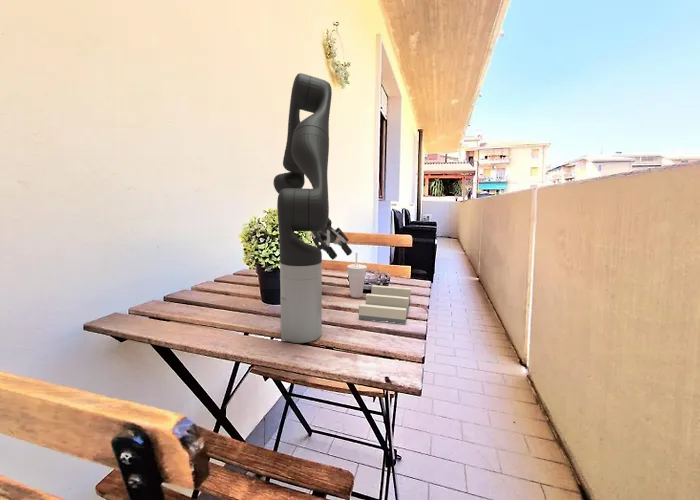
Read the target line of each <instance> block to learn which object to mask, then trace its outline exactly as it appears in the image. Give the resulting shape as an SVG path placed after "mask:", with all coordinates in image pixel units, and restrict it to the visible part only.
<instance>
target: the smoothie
mask: <svg viewBox="0 0 700 500" xmlns="http://www.w3.org/2000/svg"><path fill="white" fill-rule="evenodd" d="M346 270H347V274H348V275H347V276H348V285H349V292H350V295H349V296H350V297H352V298H357V299H358V298H362V297H363V293H364V292H363V291H364V286H365V279H366V272H367V271H368V267H367V265H364V264H360V263H359V264H358V252H355V263H352V264H348V265H347V266H346Z"/></svg>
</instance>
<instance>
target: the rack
mask: <svg viewBox="0 0 700 500" xmlns="http://www.w3.org/2000/svg"><path fill="white" fill-rule="evenodd" d="M411 289H412V288H410V287H403V286H402V287H400V286H399V287H398V286H388V285H376V284H372V285H371V289H370V290H371V293H365V303H360V304H359V305H358V320H360V319H366V320H365V321H369V320H375V321H374V322H379V321H388V322H395V323H394V324H397V323H405V322H407V318H408V317H407V316H408V313H409V307H410V302H411ZM388 322H387V323H388ZM405 324H406V323H405Z"/></svg>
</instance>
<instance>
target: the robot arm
mask: <svg viewBox="0 0 700 500" xmlns="http://www.w3.org/2000/svg"><path fill="white" fill-rule="evenodd" d="M332 90H333V89H332V86H331V84H330V82H328V81H327V80H325V79H322V78H319V77H316V76H313V75H309V74H306V73H302V72H301V73H297V74H296V76H295V77H294V79H293V83H292V87H291V94H290V101H289V111H288V119H287V120H288V121H287V122H288V123H287V124H288V125H287V137H286V145H285V149H284V154H283V158H282V166H283V168H284V169H285V171H286V172H284V173H279V174H277V175H275V176H274V179H273V188H274V189H275V191H276V192H277V194H278V196H277V202H276V203H277V204H276V210H277V222H278V223H277V224H278V237H279V238H278V241H279V242H278V244H279V271H280V272H279V280H280V282H279V283H280V287H279V288H280V290H279V291H280V298H279V299H280V341H281V342H288V343H294V344H304V343H309V342H311V343H312V342H313V341H316V340H318V339H320V338H321V336H322V327H323V325H322V318H323V317H322V315H323V314H322V312H323V311H322V309H323V308H322V304H323V303H322V301H323V299H322V298H323V297H322V294H323V293H322V291H323V289H322V285H323V284H322V283H323V279H322V278H323V270H322V269H323V268H322V267H323V265H322V264H323V263H322V261H323V253H322V251H323V252H326V254H327V255H328V257H329V258H330V259H331V260H336V258H337V257H338V254H337V252H336V251H335V250H334V249H333V247H332V246H331V244H333V245H338V246H339V247H340V248H341V250H342V251H343V252H344V253H345V255H346V256H350V255H351V254H352V253H353V250H352V249H351V248H350V246H349V245H348V242H349V241H350V240H349V238H348V237H347V236H346V234H345V233H344V232H343V230H341V228H340V227H337V228H336V229H335V228H333V227H332V224H333V222H332V220H331V219H330V217H329V216H330V215H329V214H330V213H329V212H330V208H329V207H330V206H329V205H330V203H329V184H328V182H329V181H328V169H329V168H328V167H329V151H330V134H329V133H330V132H329V130H330V125H329V123H330V113H331V104H332V103H331V102H332V93H333V91H332ZM300 111H304V112H308V113H312V114H310V115H308V116H307V117H305V118H304V119H303V120H301V118H300V114H301V113H300ZM287 171H288V172H287ZM305 177H306V179H308V180H309V183H310V184H311V187H312V188H303V187H304V186H305V181H306V180H305ZM295 232H311V234H312V239H313V240H312V239H311V240H312V242H313V243H314V244H315V245H312V244H309V243H307V242H305V241H302V240H301V239H300V238H299V237H298V236H296V234H295Z"/></svg>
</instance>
